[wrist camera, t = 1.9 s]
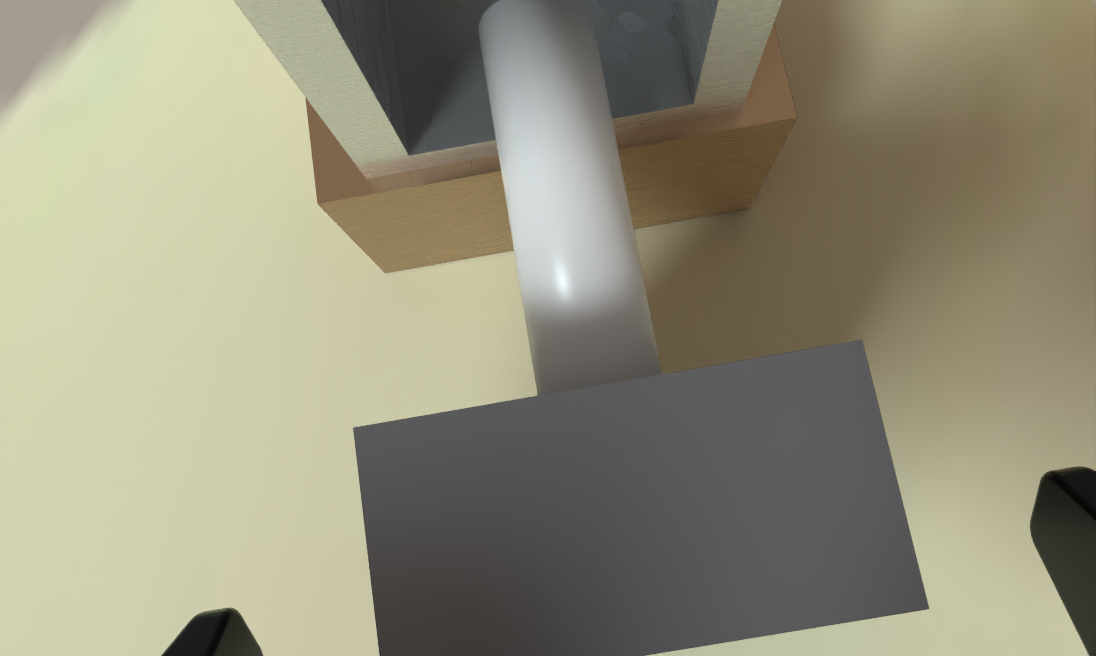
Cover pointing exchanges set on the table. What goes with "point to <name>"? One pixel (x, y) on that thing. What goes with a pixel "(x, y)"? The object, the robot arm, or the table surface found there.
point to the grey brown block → (467, 125)
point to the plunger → (621, 435)
